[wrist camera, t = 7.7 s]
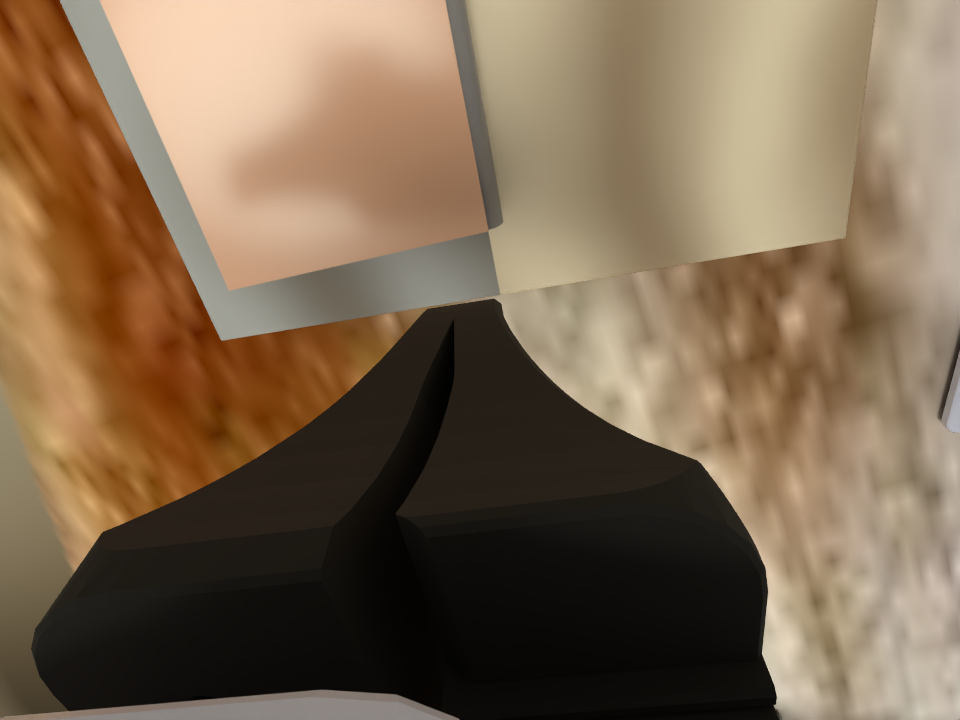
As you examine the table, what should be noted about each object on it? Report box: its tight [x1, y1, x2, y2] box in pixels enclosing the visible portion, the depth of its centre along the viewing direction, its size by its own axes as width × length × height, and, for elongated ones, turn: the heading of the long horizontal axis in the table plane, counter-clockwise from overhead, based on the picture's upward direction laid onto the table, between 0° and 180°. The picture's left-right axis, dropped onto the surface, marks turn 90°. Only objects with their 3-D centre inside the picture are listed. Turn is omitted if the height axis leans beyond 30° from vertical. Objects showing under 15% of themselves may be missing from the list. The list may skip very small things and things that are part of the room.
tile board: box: [60, 0, 877, 341], centre depth 16 cm, size 19×14×2 cm
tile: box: [100, 0, 503, 291], centre depth 14 cm, size 8×9×1 cm
